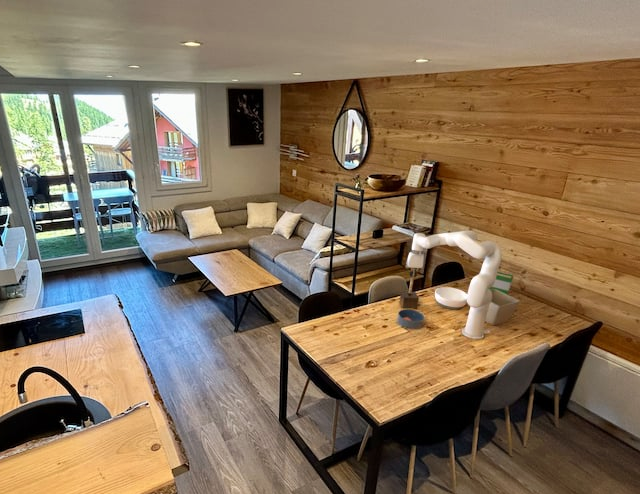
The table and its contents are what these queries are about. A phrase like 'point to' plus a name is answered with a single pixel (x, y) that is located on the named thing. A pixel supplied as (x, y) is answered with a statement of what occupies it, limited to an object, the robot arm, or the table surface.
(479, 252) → the robot arm
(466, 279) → the table surface
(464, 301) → the bowl
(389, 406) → the table surface
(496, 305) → the flower pot
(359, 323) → the table surface
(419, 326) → the mixing bowl
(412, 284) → the stick
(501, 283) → the green and white carton
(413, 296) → the stick holder
